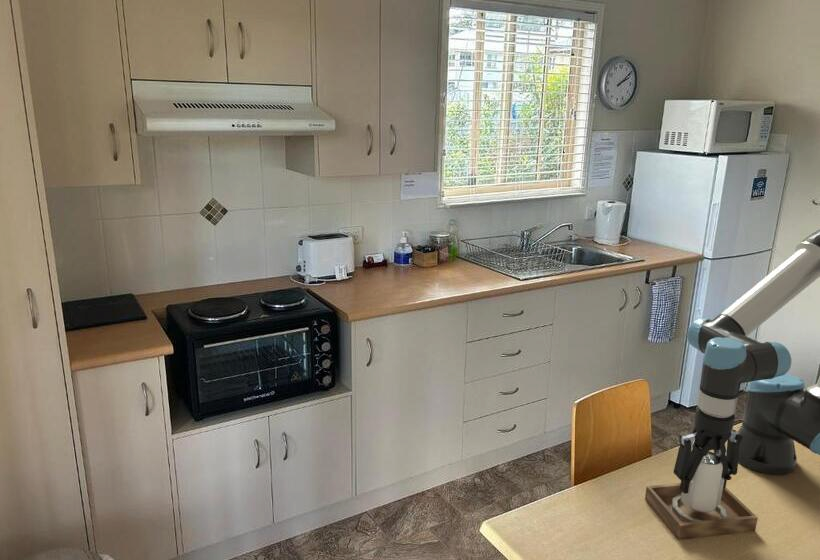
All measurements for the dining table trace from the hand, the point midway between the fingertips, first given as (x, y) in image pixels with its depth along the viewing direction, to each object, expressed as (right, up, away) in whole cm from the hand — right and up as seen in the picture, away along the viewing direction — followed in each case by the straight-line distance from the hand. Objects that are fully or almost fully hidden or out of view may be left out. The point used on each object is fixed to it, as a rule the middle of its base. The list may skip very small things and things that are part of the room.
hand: (700, 502), depth 142 cm
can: (0, -1, 0) cm, 1 cm away
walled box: (0, -3, +1) cm, 3 cm away
